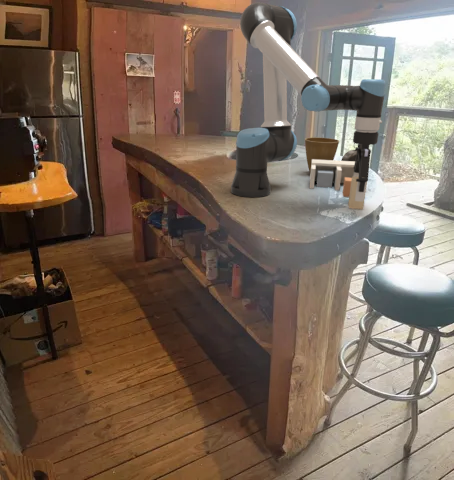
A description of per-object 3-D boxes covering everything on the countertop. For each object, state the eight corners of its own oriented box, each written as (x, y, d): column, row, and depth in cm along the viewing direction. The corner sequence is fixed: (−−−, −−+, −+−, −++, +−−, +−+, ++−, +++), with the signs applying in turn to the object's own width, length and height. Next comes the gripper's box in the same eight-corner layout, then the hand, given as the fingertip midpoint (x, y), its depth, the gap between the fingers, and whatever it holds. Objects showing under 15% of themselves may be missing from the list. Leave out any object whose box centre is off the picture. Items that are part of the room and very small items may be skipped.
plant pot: (295, 174, 185) (298, 139, 179) (313, 170, 195) (316, 136, 189) (324, 180, 175) (328, 142, 169) (340, 175, 185) (345, 139, 179)
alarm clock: (359, 175, 185) (364, 139, 179) (366, 178, 180) (371, 141, 174) (338, 176, 183) (342, 140, 177) (344, 179, 178) (349, 141, 172)
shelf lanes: (309, 188, 161) (311, 166, 158) (309, 179, 175) (311, 159, 172) (365, 192, 157) (369, 169, 154) (361, 183, 171) (364, 161, 168)
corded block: (347, 208, 137) (350, 179, 133) (342, 192, 156) (345, 167, 152) (365, 209, 136) (369, 180, 132) (358, 193, 155) (362, 167, 151)
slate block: (316, 186, 164) (318, 172, 162) (316, 183, 170) (317, 169, 167) (331, 187, 163) (333, 173, 161) (331, 184, 169) (332, 170, 166)
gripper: (384, 136, 117) (373, 206, 125) (373, 127, 139) (364, 188, 147) (358, 135, 118) (348, 205, 126) (351, 126, 140) (343, 186, 148)
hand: (357, 196), depth 137 cm, fingers open, 12 cm apart
